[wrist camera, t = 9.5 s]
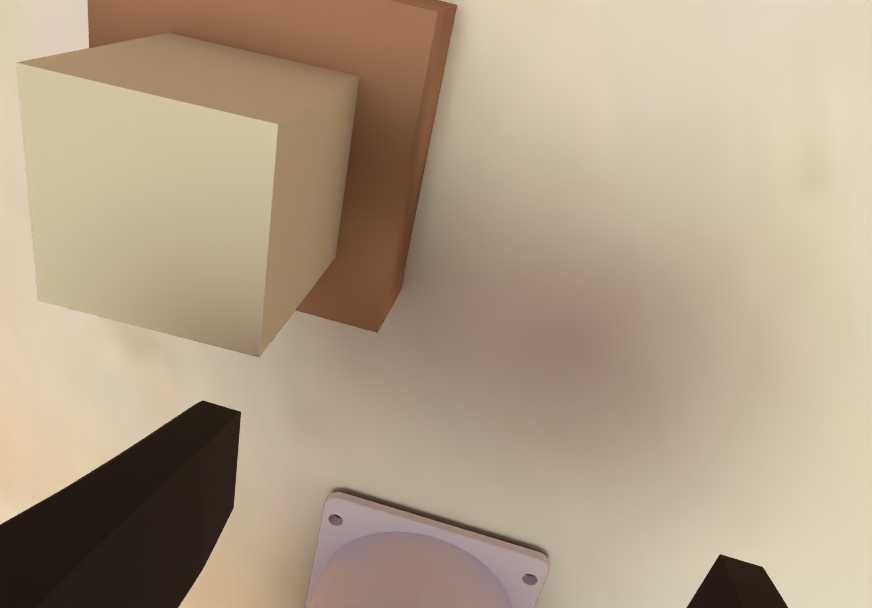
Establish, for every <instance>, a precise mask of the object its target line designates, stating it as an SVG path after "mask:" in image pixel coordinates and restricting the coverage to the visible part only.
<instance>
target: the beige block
mask: <svg viewBox="0 0 872 608" xmlns="http://www.w3.org/2000/svg"><path fill="white" fill-rule="evenodd" d="M16 65H17V76H18V87H19V98H20V108H21V119H22V130H23V141H24V152H25V163H26V174H27V184H28V195H29V206H30V217H31V228H32V239H33V250H34V260H35V271H36V282H37V293H38V301H42V302H46V303H50V304H54V305H58V306H62V307H65V308H69V309H73V310H77V311H81V312H85V313H89V314H93V315H97V316H100V317H104V318H108V319H112V320H116V321H120V322H124V323H128V324H132V325H135V326H139V327H143V328H147V329H151V330H155V331H159V332H163V333H167V334H170V335H174V336H178V337H182V338H186V339H190V340H194V341H198V342H202V343H206V344H209V345H213V346H217V347H221V348H225V349H229V350H233V351H237V352H241V353H244V354H248V355H252V356H256V357H260V356H261V354H262V353H263V352H264V350H265V349H266V348H267V347H268V345H269V344H270V343H271V341H272V340H273V339H274V337H275V336H276V335H277V333H278V332H279V331H280V329H281V328H282V327H283V326H284V324H285V323H286V322H287V320H288V319H289V318H290V316H291V315H292V314H293V312H294V311H295V310H296V308H297V307H298V306H299V305H300V303H301V302H302V301H303V299H304V298H305V297H306V295H307V294H308V293H309V291H310V290H311V289H312V287H313V286H314V285H315V284H316V282H317V281H318V280H319V278H320V277H321V276H322V274H323V273H324V272H325V270H326V269H327V268H328V267H329V265H330V264H331V263H332V261H333V260H334V259H335V257H336V250H337V243H338V235H339V228H340V220H341V212H342V205H343V197H344V190H345V182H346V175H347V167H348V160H349V152H350V145H351V137H352V130H353V122H354V115H355V107H356V100H357V92H358V85H359V77H360V76H356V75H351V74H347V73H343V72H338V71H334V70H330V69H325V68H321V67H317V66H312V65H308V64H304V63H299V62H295V61H290V60H286V59H282V58H277V57H273V56H269V55H264V54H260V53H256V52H251V51H247V50H243V49H238V48H234V47H229V46H225V45H221V44H216V43H212V42H208V41H203V40H199V39H195V38H190V37H186V36H182V35H177V34H173V33H165V34H160V35H154V36H149V37H144V38H139V39H134V40H129V41H124V42H119V43H114V44H109V45H104V46H99V47H93V48H88V49H83V50H78V51H73V52H68V53H63V54H58V55H53V56H48V57H43V58H38V59H32V60H27V61H22V62H17V63H16Z"/></svg>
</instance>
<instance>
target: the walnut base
mask: <svg viewBox="0 0 872 608" xmlns="http://www.w3.org/2000/svg"><path fill="white" fill-rule="evenodd" d="M456 7H457V5H455V4H451V3H446V2H442V1H438V0H88V23H89V48H93V47H99V46H104V45H109V44H114V43H119V42H124V41H129V40H134V39H139V38H144V37H149V36H154V35H160V34H165V33H173V34H177V35H182V36H186V37H190V38H195V39H199V40H203V41H208V42H212V43H216V44H221V45H225V46H229V47H234V48H238V49H243V50H247V51H251V52H256V53H260V54H264V55H269V56H273V57H277V58H282V59H286V60H290V61H295V62H299V63H304V64H308V65H312V66H317V67H321V68H325V69H330V70H334V71H338V72H343V73H347V74H351V75H356V76H360V77H359V85H358V92H357V100H356V107H355V115H354V122H353V130H352V137H351V145H350V152H349V160H348V167H347V175H346V182H345V190H344V197H343V205H342V212H341V220H340V228H339V235H338V243H337V250H336V257H335V259H334V260H333V261H332V263H331V264H330V265H329V267H328V268H327V269H326V270H325V272H324V273H323V274H322V276H321V277H320V278H319V280H318V281H317V282H316V284H315V285H314V286H313V287H312V289H311V290H310V291H309V293H308V294H307V295H306V297H305V298H304V299H303V301H302V302H301V303H300V305H299V306H298V307H297V308H296V310H297V311H300V312H304V313H308V314H311V315H315V316H319V317H322V318H326V319H330V320H333V321H337V322H340V323H344V324H348V325H351V326H355V327H359V328H362V329H366V330H370V331H373V332H377V333H378V331H379V329H380V327H381V325H382V323H383V322H384V320H385V318H386V316H387V314H388V313H389V311H390V309H391V307H392V305H393V303H394V302H395V300H396V298H397V296H398V294H399V292H400V289H401V284H402V279H403V274H404V269H405V264H406V259H407V254H408V249H409V244H410V239H411V234H412V228H413V223H414V218H415V213H416V208H417V203H418V198H419V193H420V188H421V183H422V178H423V173H424V168H425V163H426V158H427V153H428V148H429V143H430V138H431V133H432V128H433V123H434V118H435V113H436V108H437V103H438V98H439V93H440V88H441V82H442V77H443V72H444V67H445V62H446V57H447V52H448V47H449V42H450V37H451V32H452V27H453V22H454V17H455V12H456Z"/></svg>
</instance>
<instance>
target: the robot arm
mask: <svg viewBox="0 0 872 608" xmlns="http://www.w3.org/2000/svg"><path fill="white" fill-rule="evenodd" d="M240 418H241V412H240V411H236V410H233V409H229V408H226V407H223V406H219V405H216V404H213V403H209V402H206V401H201V402H199V403H197V404H195V405H194V406H192V407H191V408H189V409H187V410H186V411H184V412H183V413H181V414H180V415H178V416H177V417H175V418H174V419H172V420H171V421H169V422H168V423H166V424H165V425H163V426H162V427H160V428H159V429H157V430H156V431H154V432H153V433H151V434H150V435H148V436H147V437H145V438H144V439H142V440H141V441H139V442H138V443H136V444H134V445H133V446H131V447H130V448H128V449H127V450H125V451H124V452H122V453H121V454H119V455H118V456H116V457H114V458H113V459H111V460H109V461H108V462H106V463H105V464H103V465H101V466H100V467H98V468H97V469H95V470H93V471H92V472H90V473H88V474H87V475H85V476H84V477H82V478H80V479H79V480H77V481H76V482H74V483H72V484H71V485H69V486H67V487H66V488H64V489H62V490H61V491H59V492H57V493H55V494H54V495H52V496H50V497H48V498H47V499H45V500H43V501H41V502H40V503H38V504H36V505H34V506H32V507H31V508H29V509H27V510H25V511H24V512H22V513H20V514H18V515H16V516H15V517H13V518H11V519H9V520H8V521H6V522H4V523H2V524H1V525H0V608H178V607H179V605H180V604H181V602H182V601H183V599H184V598H185V596H186V595H187V593H188V592H189V590H190V588H191V587H192V585H193V584H194V582H195V581H196V579H197V577H198V576H199V574H200V573H201V571H202V570H203V568H204V566H205V564H206V562H207V560H208V558H209V556H210V554H211V552H212V550H213V548H214V546H215V544H216V542H217V540H218V538H219V536H220V534H221V532H222V530H223V528H224V526H225V524H226V522H227V520H228V518H229V516H230V514H231V512H232V510H233V508H234V496H235V483H236V470H237V457H238V444H239V431H240ZM333 514H334V515H338V516H340V517H341V518H337V517H336V516H334V515H333ZM548 570H549V561H548V558H547V557H546V556H545V555H544V554H542V553H540V552H538V551H534V550H531V549H528V548H524V547H521V546H518V545H514V544H511V543H508V542H504V541H501V540H498V539H495V538H491V537H488V536H485V535H481V534H478V533H475V532H471V531H468V530H465V529H461V528H458V527H455V526H452V525H448V524H445V523H442V522H438V521H435V520H432V519H428V518H425V517H422V516H418V515H415V514H412V513H409V512H405V511H402V510H399V509H395V508H392V507H389V506H385V505H382V504H379V503H376V502H372V501H369V500H366V499H362V498H359V497H356V496H352V495H349V494H346V493H342V492H334V493H331V494H330V495H329V496H328V498H327V500H326V502H325V504H324V509H323V515H322V520H321V525H320V531H319V536H318V542H317V547H316V552H315V558H314V563H313V569H312V574H311V579H310V585H309V590H308V596H307V601H306V606H305V608H534V605H535V603H536V601H537V598H538V596H539V594H540V591H541V589H542V586H543V584H544V582H545V579H546V577H547V574H548ZM526 574H532V575H534V576H528V575H526ZM687 608H788V607H787V605H786V603H785V602H784V600H783V598H782V597H781V595H780V594H779V592H778V590H777V589H776V587H775V586H774V584H773V582H772V581H771V579H770V578H769V576H768V575H767V573H766V571H765V570H764V568H763V567H761V566H757V565H754V564H751V563H747V562H744V561H741V560H737V559H734V558H731V557H727V556H724V555H719V557H718V558H717V560H716V561H715V563H714V565H713V566H712V568H711V569H710V571H709V573H708V574H707V576H706V578H705V579H704V581H703V582H702V584H701V586H700V587H699V589H698V590H697V592H696V594H695V595H694V597H693V599H692V600H691V602H690V603H689V605H688V607H687Z"/></svg>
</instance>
